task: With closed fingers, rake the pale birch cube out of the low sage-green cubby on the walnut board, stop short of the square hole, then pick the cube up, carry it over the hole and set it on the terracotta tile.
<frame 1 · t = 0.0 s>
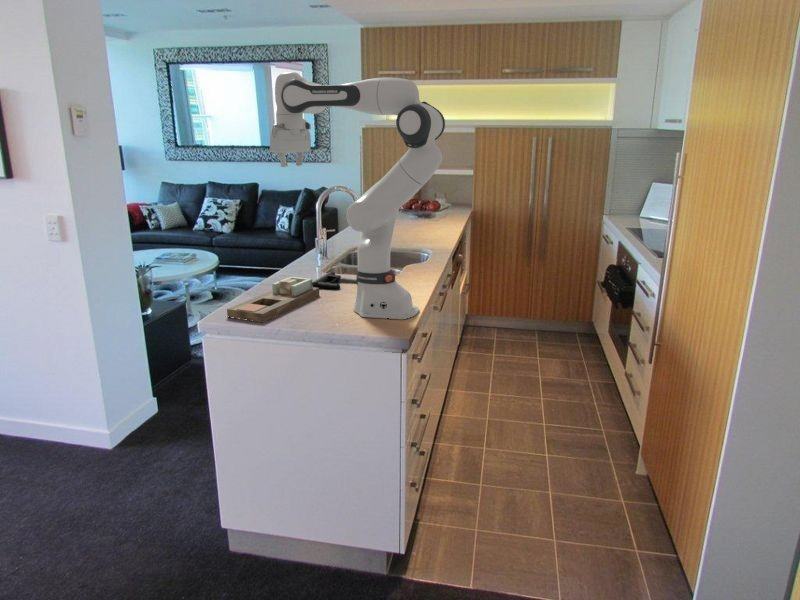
hand: (291, 166, 199), 48 cm above the counter, tool pointing down, fingers open, 8 cm apart
cube: (288, 292, 212), point 3 cm above the counter, touching board
door handle: (336, 285, 237), on the counter
board: (276, 305, 205), on the counter
tile: (252, 308, 192), resting on board
cubby: (293, 290, 214), resting on board
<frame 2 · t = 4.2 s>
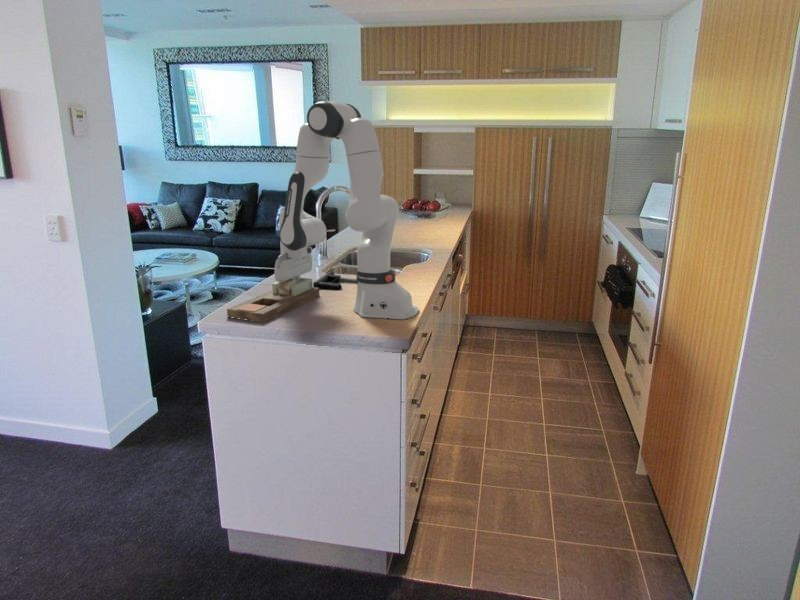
hand: (294, 288, 215), 4 cm above the counter, tool pointing down, fingers closed
cube: (287, 292, 211), point 3 cm above the counter, touching gripper
everything else where it was.
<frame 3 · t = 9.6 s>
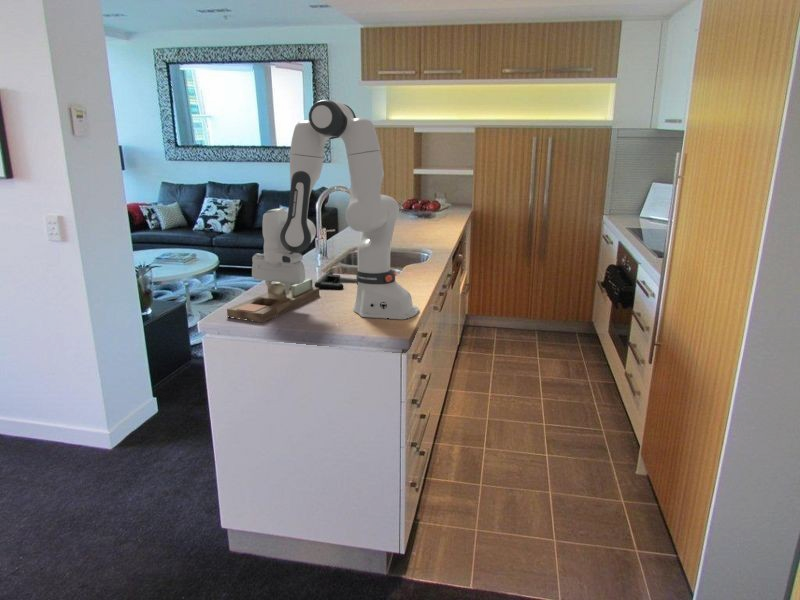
hand: (279, 293, 206), 4 cm above the counter, tool pointing down, fingers closed on cube, 4 cm apart
cube: (277, 297, 205), point 3 cm above the counter, touching board, gripper
everything else where it was.
when the fingers open (6 cm above the counter, at t = 15.5 s): cube drops 1 cm, resting on tile.
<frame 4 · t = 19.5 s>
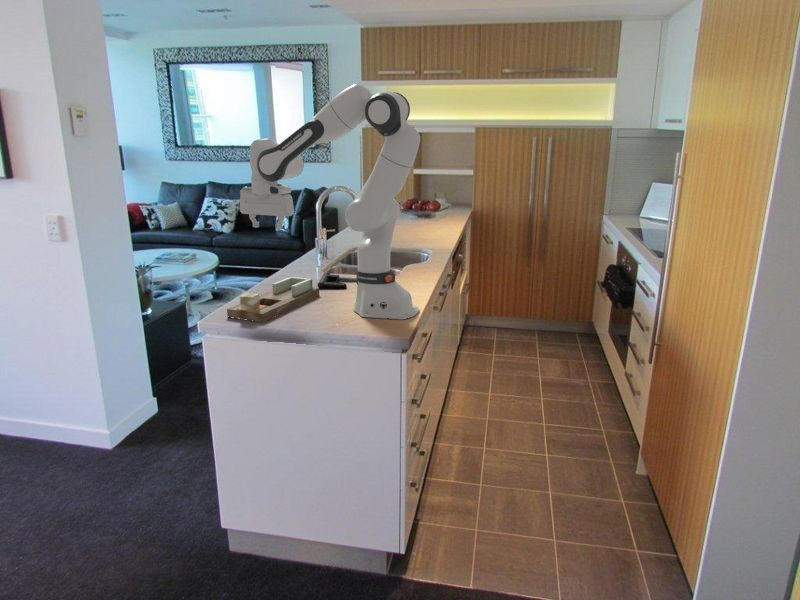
hand: (267, 227, 202), 27 cm above the counter, tool pointing down, fingers open, 8 cm apart
cube: (250, 308, 191), point 3 cm above the counter, touching tile
at the end: cube 1.1 cm off-centre on the tile, point 0.3 cm above the tile's base; cube tilted 0°; the gripper is holding nothing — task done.
